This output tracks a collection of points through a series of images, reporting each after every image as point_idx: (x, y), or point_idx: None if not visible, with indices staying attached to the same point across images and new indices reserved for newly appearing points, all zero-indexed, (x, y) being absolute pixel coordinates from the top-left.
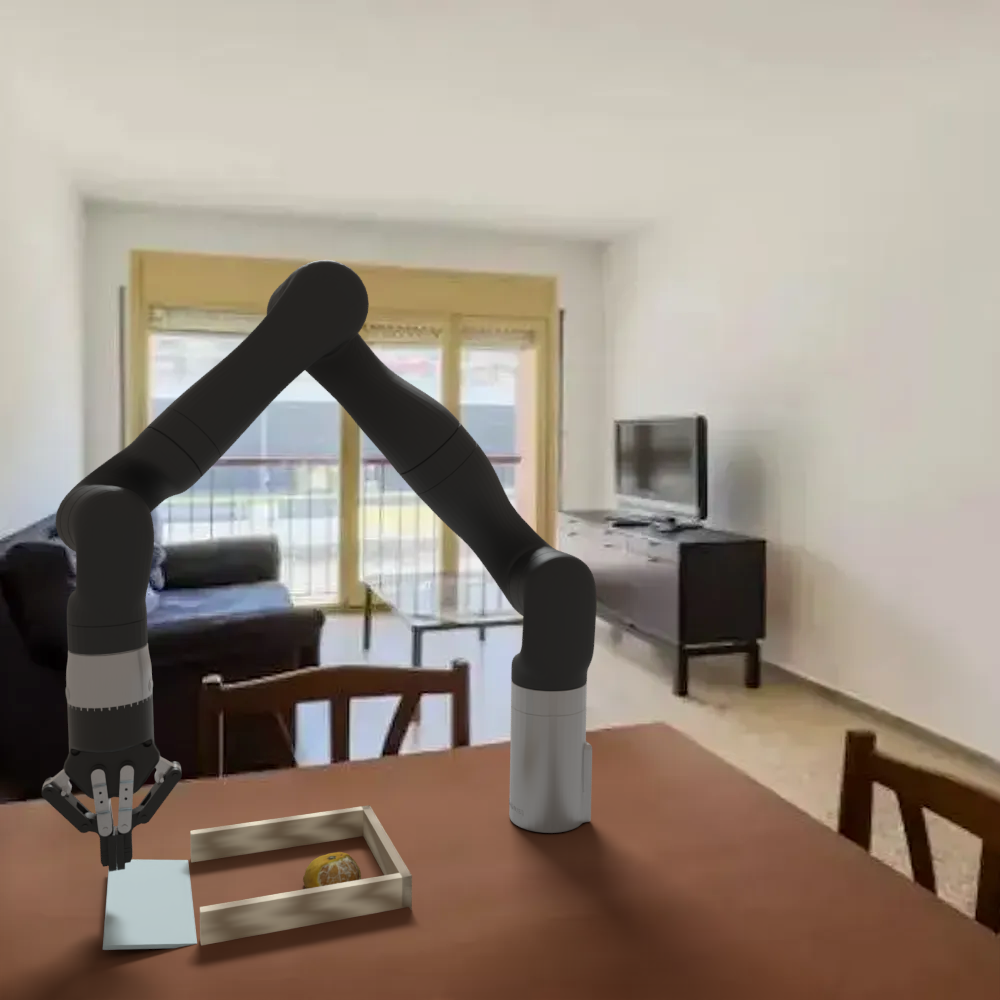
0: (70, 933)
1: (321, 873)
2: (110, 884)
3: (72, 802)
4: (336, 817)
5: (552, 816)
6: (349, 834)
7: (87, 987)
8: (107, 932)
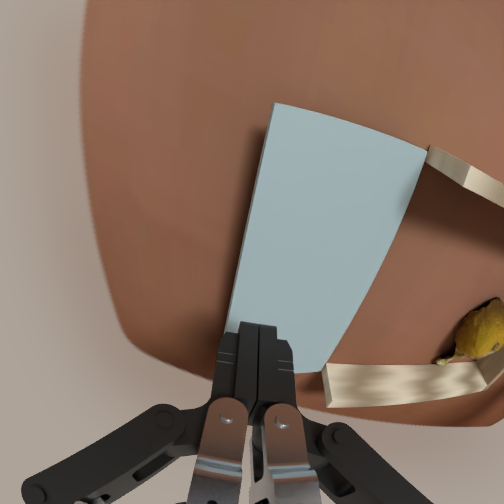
0: (180, 280)
1: (471, 357)
2: (252, 232)
3: (125, 488)
4: None
5: None
6: None
7: (200, 373)
8: None
